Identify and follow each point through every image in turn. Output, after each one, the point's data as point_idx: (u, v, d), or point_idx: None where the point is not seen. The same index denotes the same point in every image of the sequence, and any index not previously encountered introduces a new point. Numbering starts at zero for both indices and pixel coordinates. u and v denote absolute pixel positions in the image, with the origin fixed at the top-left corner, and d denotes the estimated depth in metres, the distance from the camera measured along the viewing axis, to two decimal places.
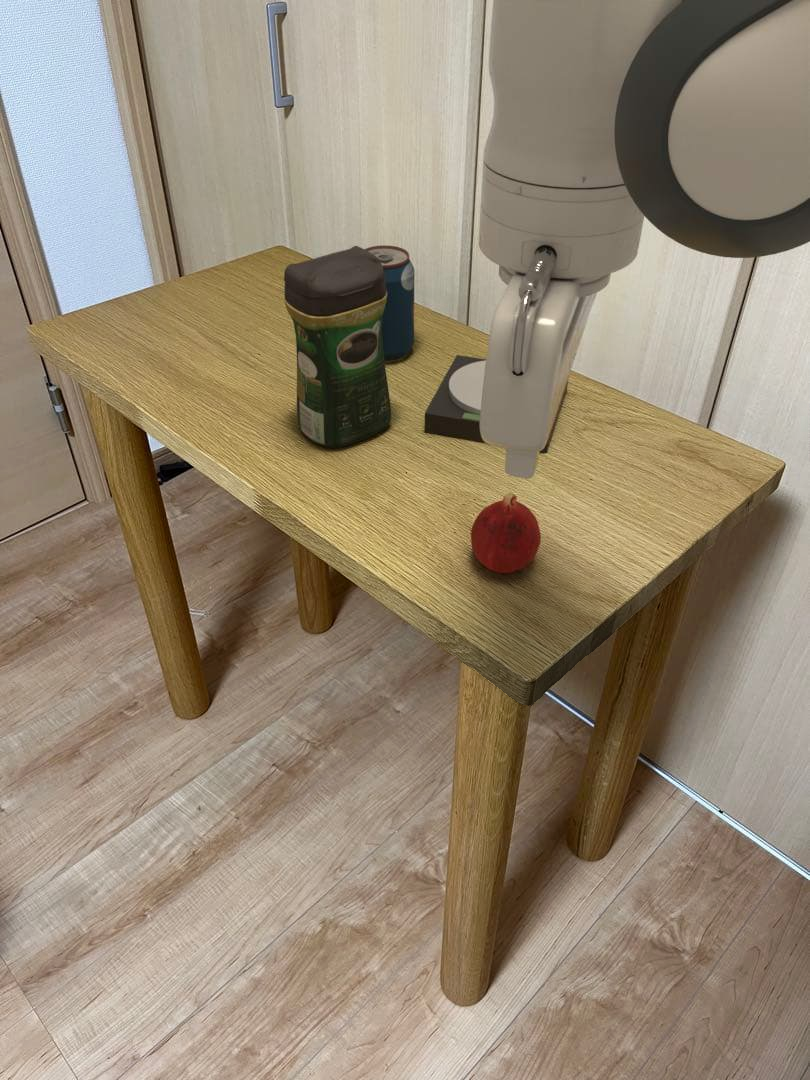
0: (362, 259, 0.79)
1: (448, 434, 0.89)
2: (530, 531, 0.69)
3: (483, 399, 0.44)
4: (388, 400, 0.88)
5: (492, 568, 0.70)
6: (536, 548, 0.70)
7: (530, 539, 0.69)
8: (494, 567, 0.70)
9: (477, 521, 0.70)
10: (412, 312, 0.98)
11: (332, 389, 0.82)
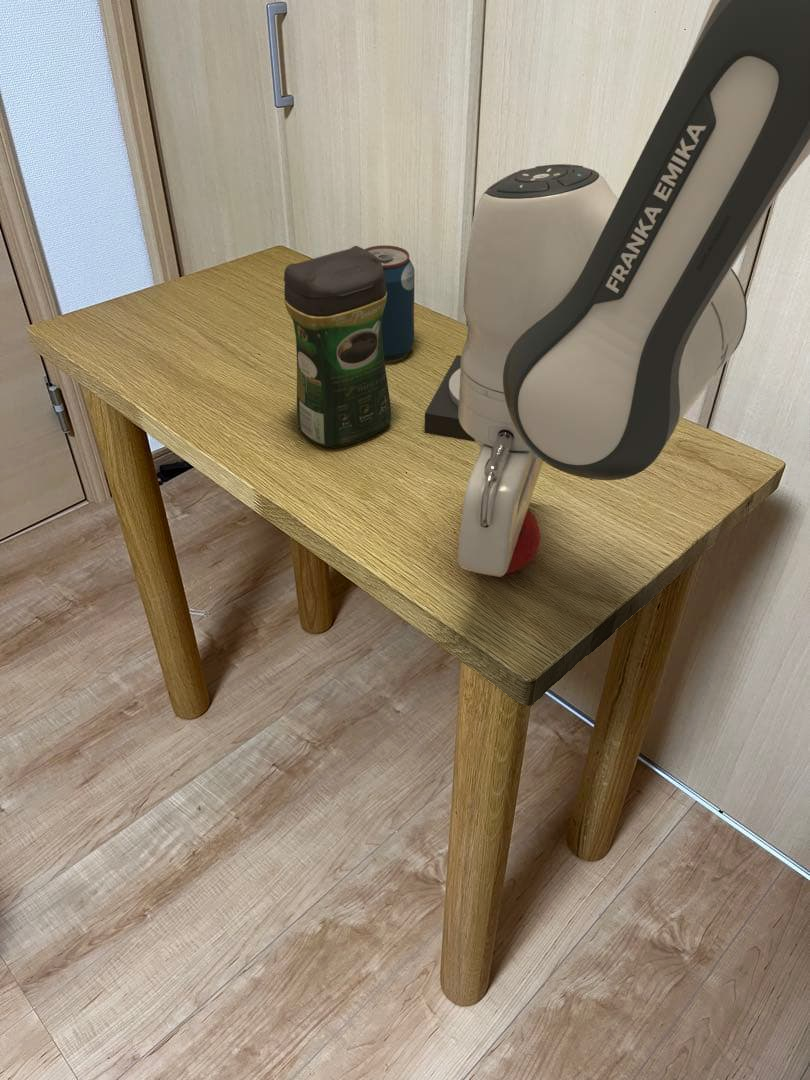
0: (362, 258, 0.79)
1: (448, 434, 0.89)
2: (529, 532, 0.69)
3: (460, 541, 0.59)
4: (388, 400, 0.88)
5: None
6: (536, 548, 0.70)
7: (530, 540, 0.69)
8: None
9: None
10: (412, 312, 0.98)
11: (332, 389, 0.82)
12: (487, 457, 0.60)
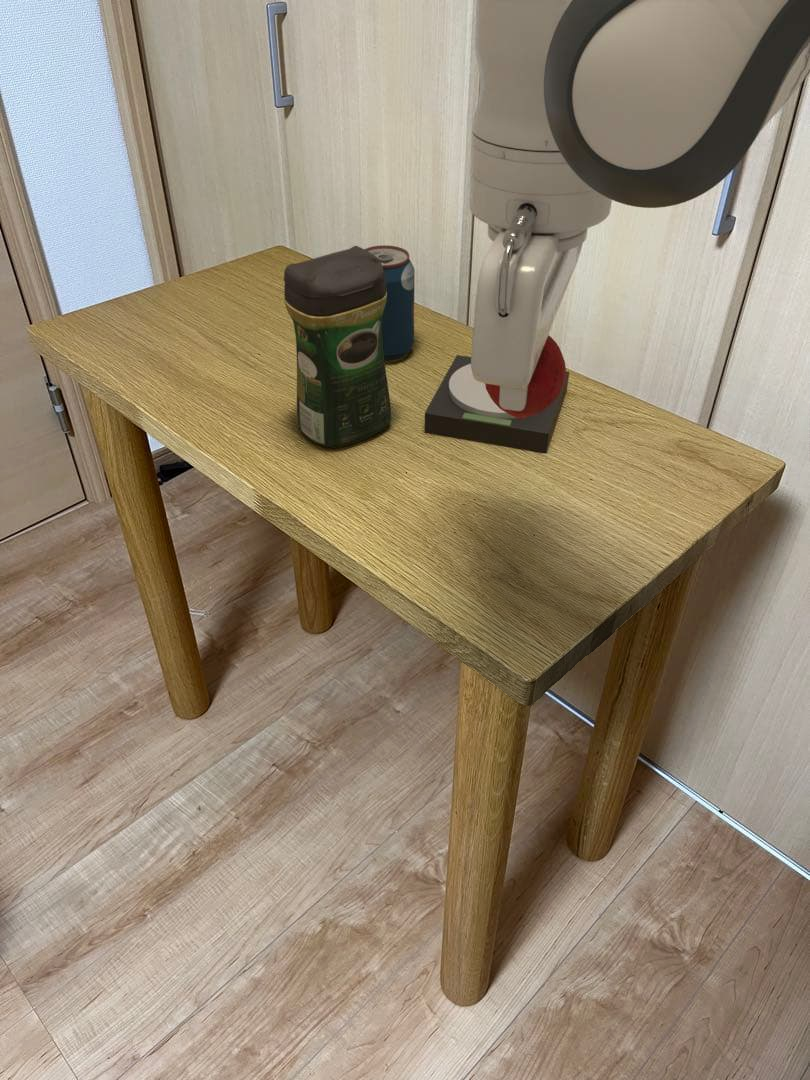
0: (362, 258, 0.79)
1: (448, 434, 0.89)
2: (553, 360, 0.58)
3: (473, 339, 0.49)
4: (388, 400, 0.88)
5: None
6: (561, 382, 0.60)
7: (554, 369, 0.59)
8: None
9: None
10: (412, 312, 0.98)
11: (332, 389, 0.82)
12: None
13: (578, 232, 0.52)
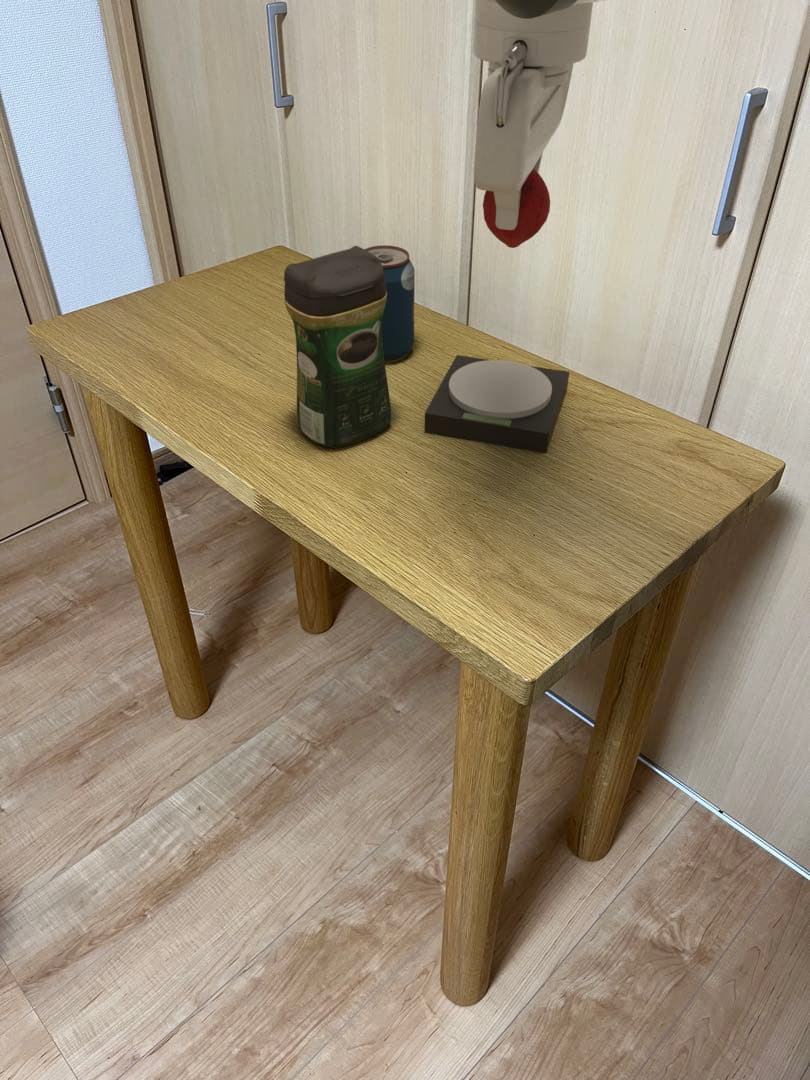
0: (362, 258, 0.79)
1: (448, 434, 0.89)
2: (540, 190, 0.71)
3: (476, 149, 0.62)
4: (388, 400, 0.88)
5: (503, 232, 0.73)
6: (546, 210, 0.73)
7: (540, 197, 0.72)
8: None
9: None
10: (412, 312, 0.98)
11: (332, 389, 0.82)
12: None
13: (560, 71, 0.65)
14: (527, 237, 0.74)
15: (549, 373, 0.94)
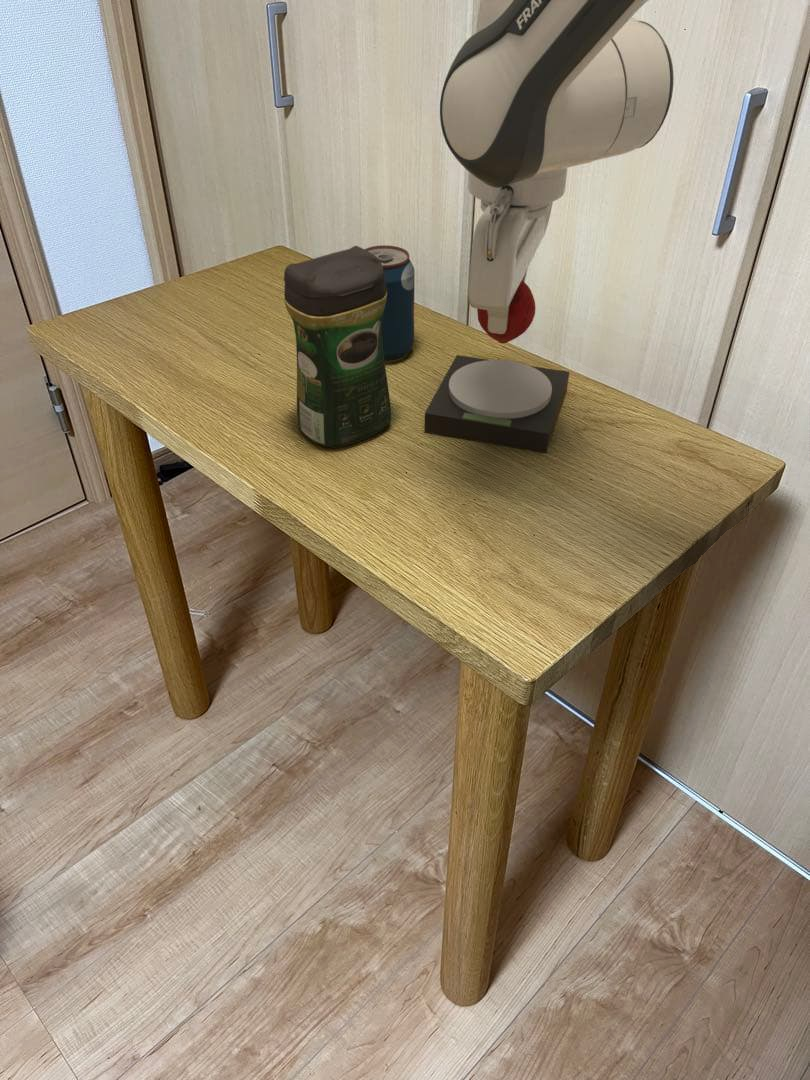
0: (362, 258, 0.79)
1: (448, 434, 0.89)
2: (526, 298, 0.83)
3: (470, 277, 0.73)
4: (388, 400, 0.88)
5: (495, 333, 0.84)
6: (531, 315, 0.84)
7: (527, 305, 0.83)
8: None
9: None
10: (412, 312, 0.98)
11: (332, 389, 0.82)
12: None
13: (542, 206, 0.76)
14: (515, 336, 0.85)
15: (549, 373, 0.94)
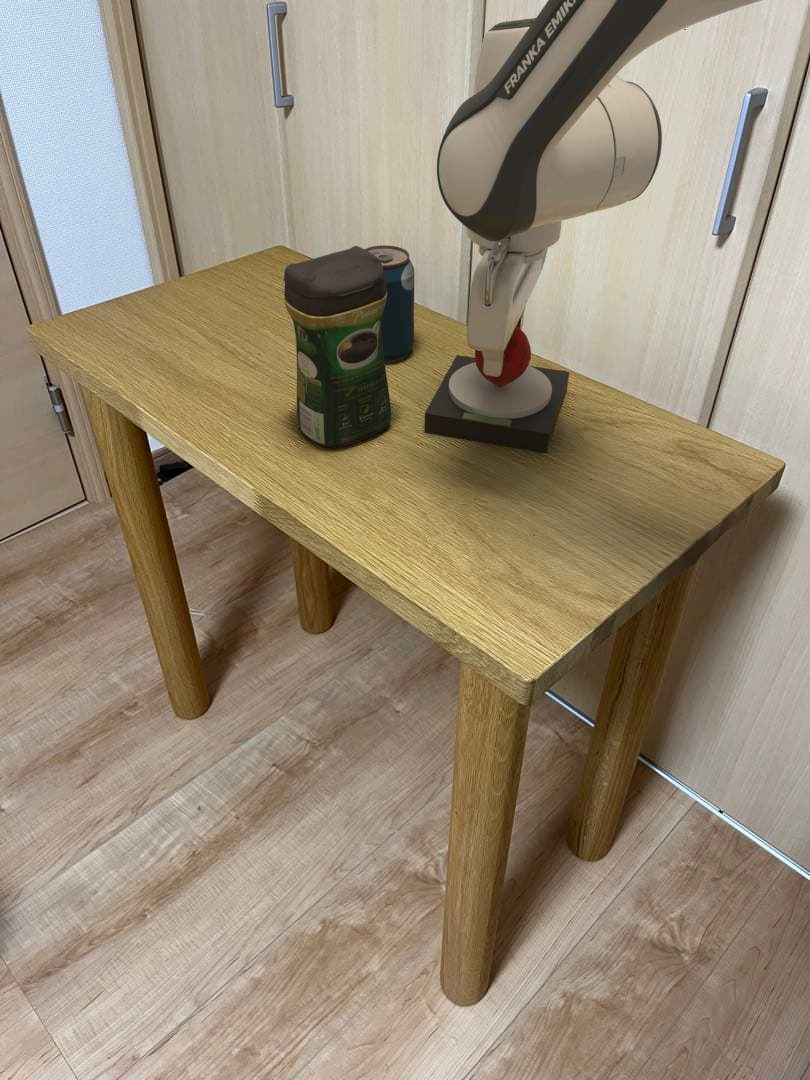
0: (362, 258, 0.79)
1: (448, 434, 0.89)
2: (522, 345, 0.86)
3: (468, 321, 0.76)
4: (388, 400, 0.88)
5: (492, 378, 0.87)
6: (527, 360, 0.87)
7: (522, 351, 0.86)
8: (493, 376, 0.87)
9: None
10: (412, 312, 0.98)
11: (332, 389, 0.82)
12: None
13: (538, 251, 0.79)
14: (512, 381, 0.88)
15: (549, 373, 0.94)
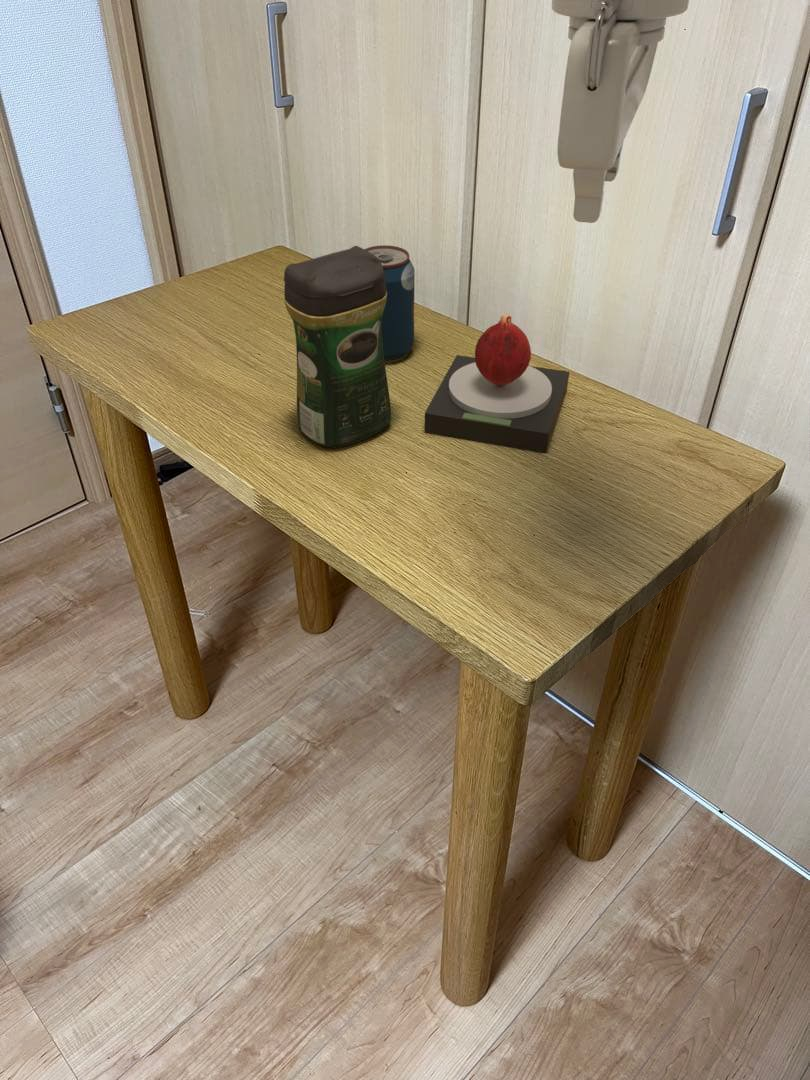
0: (362, 258, 0.79)
1: (448, 434, 0.89)
2: (522, 345, 0.86)
3: (562, 118, 0.52)
4: (388, 400, 0.88)
5: (492, 378, 0.87)
6: (527, 360, 0.87)
7: (522, 351, 0.86)
8: (493, 376, 0.87)
9: (480, 340, 0.87)
10: (412, 312, 0.98)
11: (332, 389, 0.82)
12: (591, 25, 0.52)
13: (657, 26, 0.55)
14: (512, 381, 0.88)
15: (549, 373, 0.94)
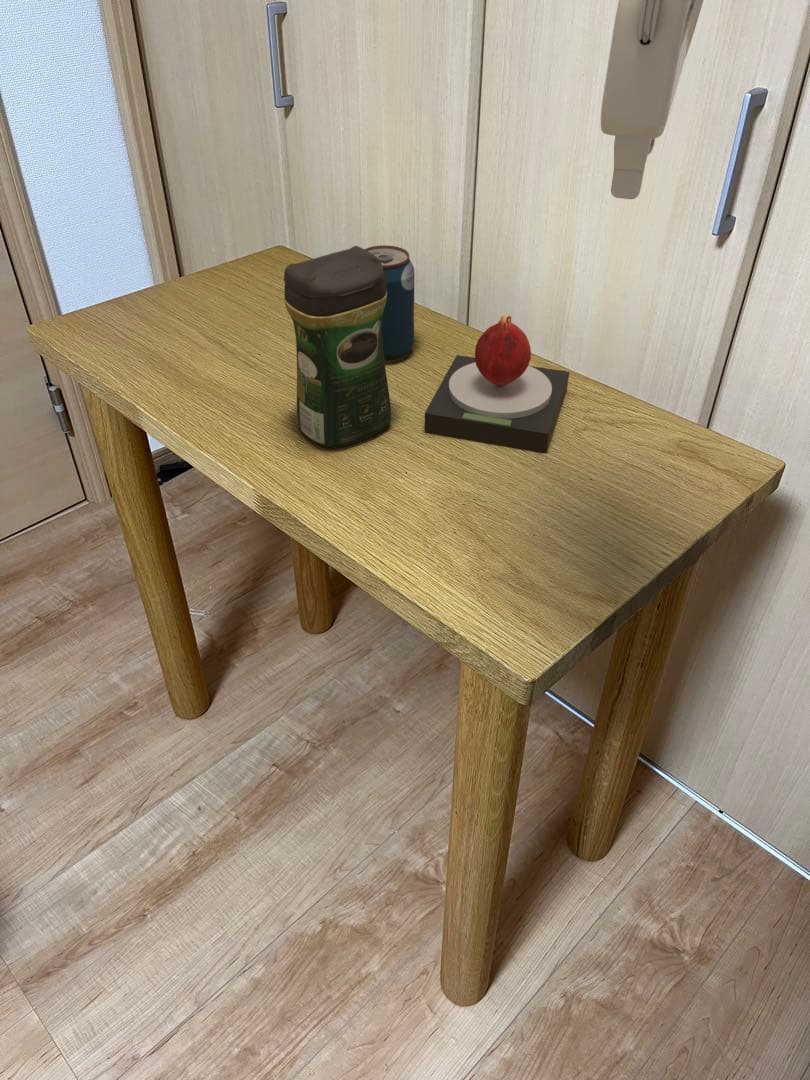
0: (362, 258, 0.79)
1: (448, 434, 0.89)
2: (522, 345, 0.86)
3: (608, 76, 0.46)
4: (388, 400, 0.88)
5: (492, 378, 0.87)
6: (527, 360, 0.87)
7: (522, 351, 0.86)
8: (493, 376, 0.87)
9: (480, 340, 0.87)
10: (412, 312, 0.98)
11: (332, 389, 0.82)
12: None
13: None
14: (512, 381, 0.88)
15: (549, 373, 0.94)
